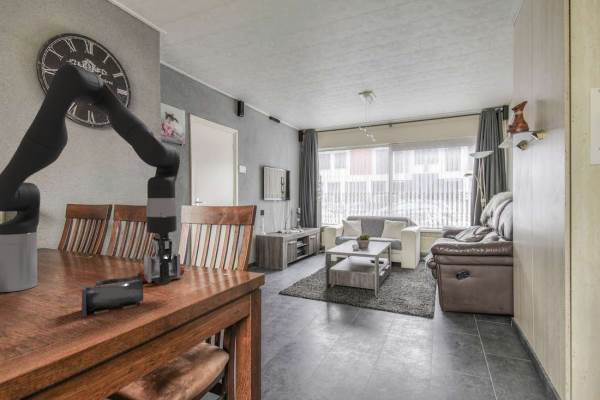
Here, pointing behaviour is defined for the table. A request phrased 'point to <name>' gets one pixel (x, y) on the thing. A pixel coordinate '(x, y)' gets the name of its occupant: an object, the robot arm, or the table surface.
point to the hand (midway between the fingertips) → (162, 275)
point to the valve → (139, 277)
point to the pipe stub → (111, 296)
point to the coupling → (154, 267)
